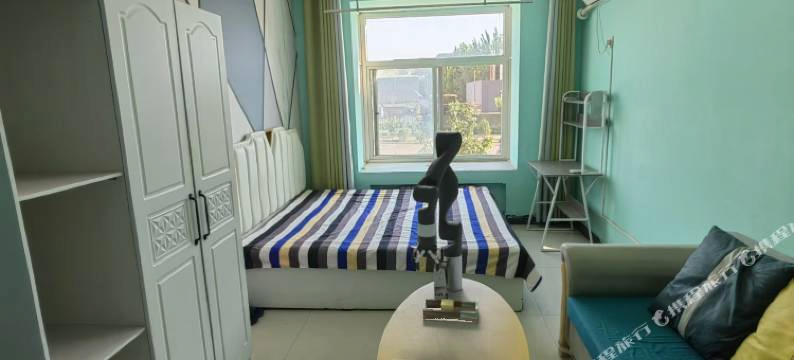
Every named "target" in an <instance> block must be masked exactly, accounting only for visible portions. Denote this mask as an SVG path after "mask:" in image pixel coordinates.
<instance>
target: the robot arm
mask: <svg viewBox="0 0 794 360" xmlns="http://www.w3.org/2000/svg"><path fill="white" fill-rule="evenodd" d="M462 144H463V136H462V134H461V132H460V131H457V130H438V131H437V133H436V134H435V153H436V159H434V161H432V162H431V164H430V165H429V166H428V168H427V170H426V173H425V175H424V176H423V177H422V178H420V180H419V181H418V182H417V183H416V185H415V186H414V188H413V190H412V199H413V200H414V201H415V202H417V203H423V204H427V206H425V207H420V208H418V210H417V231H416V233H417V246H415V245H411V247H410V251H409V252H410V261H411V262H414V263H415V270H416V271H418V272H419V271H421V269H420V260H421V258H422V257H423V258H432V259H433V260H434V263H435V262H436V272H438V270H439V269H440V262H443V261H449V289H450V291H456V292H459V291H461V290H462V289H463V249H462V248H463V224H462V222H461V221H457V220H447V216H448V213H449V211H450V208H451V207H452V205H453V204H454V202H455V201H456V200H457V198H458V195H459V179H458V176H457V174H456V172H455V171H454V170H453V168H452V166H451V163H452V162H453V160H454V159H455V158H456V156H457V154H458V153H459V151H460V150H461V148H462ZM437 204H438V230H437V227H436V209H437ZM437 231H438V232H437ZM437 233H438V234H437ZM437 235H438V238H439V239H440V240H441V241H450V242H453V243H451V244H448V245H445V246H444V245H443V246H442V245H441V247H439V246H438V245H437ZM416 251H418V255H417V257H415V256H416V254H415V252H416ZM437 251H438V253H439V254H440V258H439V256H438V255H437V253H436V252H437Z"/></svg>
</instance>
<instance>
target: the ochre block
mask: <svg viewBox="0 0 794 360" xmlns="http://www.w3.org/2000/svg"><path fill="white" fill-rule="evenodd" d="M454 300H455V299H449V298H448V299H442V301H441V310H450V311H454Z"/></svg>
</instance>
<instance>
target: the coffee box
mask: <svg viewBox="0 0 794 360" xmlns="http://www.w3.org/2000/svg"><path fill="white" fill-rule="evenodd" d="M433 288H434V289H433V292H434V293H433V297H434V298H433V299H440V300H442V299H448V300H449V298H450V289H449V261H443V262H440V269H439V270H438V272H436V262H435V261H434V266H433ZM448 297H449V298H448Z"/></svg>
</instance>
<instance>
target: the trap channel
mask: <svg viewBox="0 0 794 360" xmlns="http://www.w3.org/2000/svg"><path fill="white" fill-rule="evenodd" d="M453 300H454V311H450V310H433V309H427V308H441V301H442V300H440V299H434V298H425V305H424V308H422V320H423V319H435V318H436V319H437V318H438V319H441V318H442V319H443V318H445V319H458V320H465V321H472V322H477V323H476V324H479V299H475V301H474V300H458V299H456V300H455V299H453Z"/></svg>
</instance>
